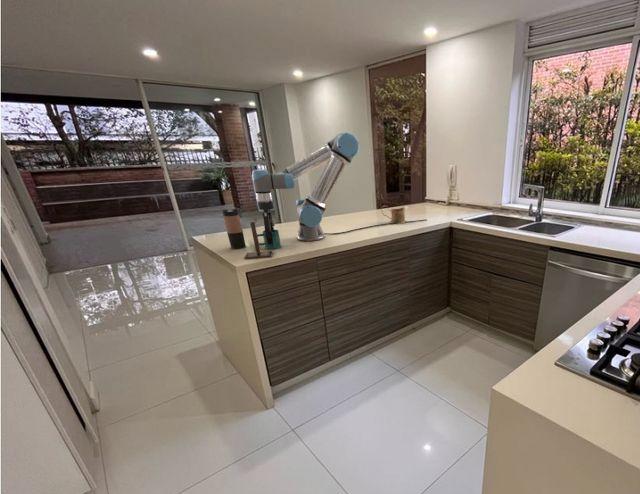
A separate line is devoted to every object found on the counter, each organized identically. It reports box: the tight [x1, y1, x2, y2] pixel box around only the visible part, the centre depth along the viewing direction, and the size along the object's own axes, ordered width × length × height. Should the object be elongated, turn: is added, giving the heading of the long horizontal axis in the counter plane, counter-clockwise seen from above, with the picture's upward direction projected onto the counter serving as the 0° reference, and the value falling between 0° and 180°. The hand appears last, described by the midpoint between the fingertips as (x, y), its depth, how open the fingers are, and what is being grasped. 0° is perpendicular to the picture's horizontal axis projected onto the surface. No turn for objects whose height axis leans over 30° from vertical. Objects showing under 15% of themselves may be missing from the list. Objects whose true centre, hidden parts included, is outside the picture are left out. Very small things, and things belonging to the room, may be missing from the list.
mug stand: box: [244, 218, 274, 260], centre depth 171 cm, size 12×14×18 cm
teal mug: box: [257, 229, 282, 250], centre depth 184 cm, size 12×8×9 cm, turn 107°
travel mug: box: [222, 208, 246, 250], centre depth 183 cm, size 8×8×20 cm
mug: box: [380, 205, 407, 225], centre depth 246 cm, size 12×18×12 cm, turn 96°
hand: (271, 241), depth 185 cm, fingers open, 13 cm apart
